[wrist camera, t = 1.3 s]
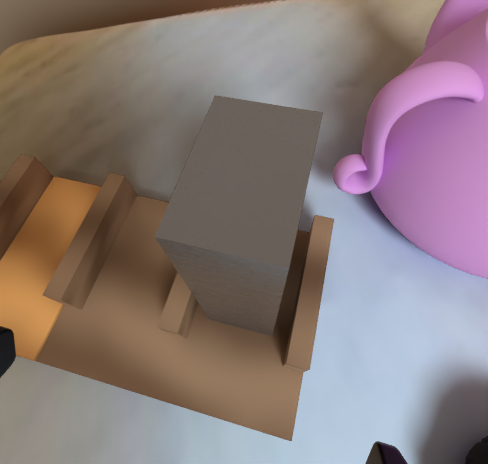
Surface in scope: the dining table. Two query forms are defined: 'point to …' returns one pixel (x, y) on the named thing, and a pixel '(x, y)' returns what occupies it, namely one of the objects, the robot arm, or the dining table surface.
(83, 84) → the dining table surface
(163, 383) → the rail rack
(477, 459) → the tape measure
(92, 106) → the dining table surface
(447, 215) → the teapot
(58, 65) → the dining table surface
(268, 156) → the tall grey box
